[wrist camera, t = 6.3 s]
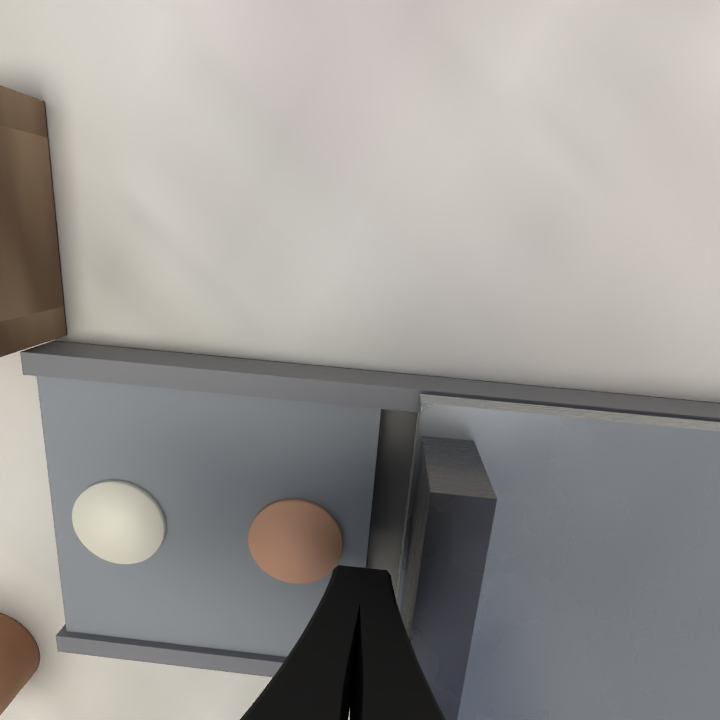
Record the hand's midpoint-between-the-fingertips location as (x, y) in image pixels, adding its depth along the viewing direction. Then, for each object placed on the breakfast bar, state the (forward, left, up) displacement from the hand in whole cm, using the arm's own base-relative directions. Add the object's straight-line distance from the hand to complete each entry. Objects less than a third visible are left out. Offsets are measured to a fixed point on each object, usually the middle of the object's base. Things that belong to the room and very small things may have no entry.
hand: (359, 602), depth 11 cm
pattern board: (0, -2, -3) cm, 4 cm away
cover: (0, -6, -2) cm, 6 cm away
